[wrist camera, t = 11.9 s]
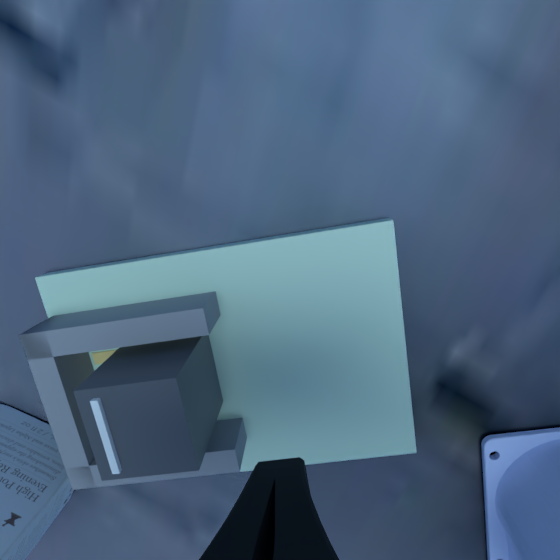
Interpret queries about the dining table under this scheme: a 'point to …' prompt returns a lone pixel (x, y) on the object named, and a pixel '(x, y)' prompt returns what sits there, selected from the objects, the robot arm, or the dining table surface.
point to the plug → (151, 408)
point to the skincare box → (28, 482)
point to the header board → (245, 345)
